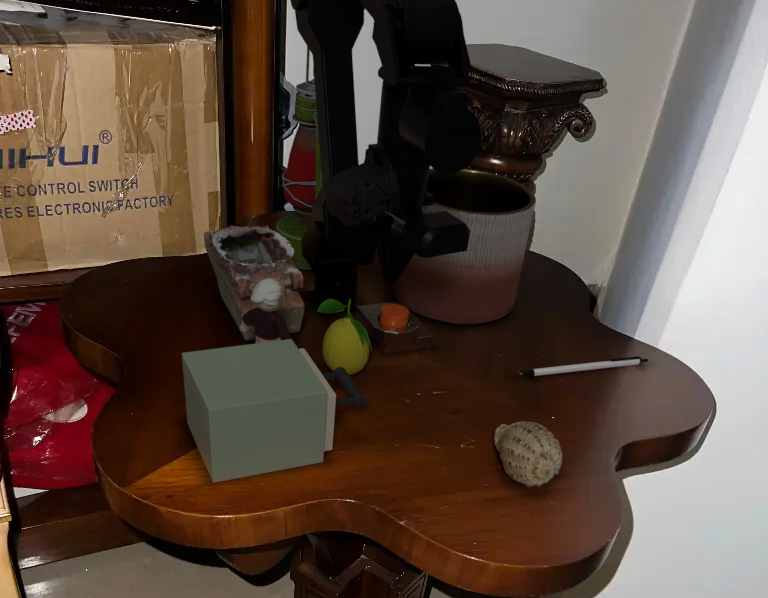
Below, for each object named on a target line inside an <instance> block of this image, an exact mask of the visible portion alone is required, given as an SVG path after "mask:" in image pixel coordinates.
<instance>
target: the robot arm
mask: <svg viewBox="0 0 768 598" xmlns="http://www.w3.org/2000/svg"><path fill="white" fill-rule="evenodd" d="M290 5H291V8H292V10H294V14H295V15H294V16H295V22H296V23H295V24H296V29H297V32H298V33H299V34H300V37H301V39H302V40H303V41H304V43H305V45H306V47H307V46H308V48H309V50H310V54H311V55H312V63H313V65H314V76H313V79H314V78H315V92H316V105H317V119H318V132H319V146H320V159H321V173H322V187H321V190H320V192H319V194H318V196H317V198H316V200H315V202H314V204H313V207H312V222H311V224H310V225H309V227H308V229H307V230H306V232H305V234H304V235H303V237H302V239H301V244H302V255H303V257H304V258H305V260H306V261H307V262H308V264H309V265H310V266H311V268H312V269H315V270H314V289H313V290H306V291H305V297H306V298H307V299H308V301H309V302H310V303H311V305H312V306H313V307H314V309H315V310H316V311H317V310H318V308H319V306H320V305H321V304H322V303H323V302H324V301H325V300H328V299H335V300H337V301H339V302H340V303H341V304H342V305H344V306H347V305H348V303H349V299H351V304H350V313H354V312H355V313H356V306H362V305H364V304H363V302H361V301H360V299H359V298H358V297H357V283H358V272H359V271H358V270H359V266H365V265H367V266H372V265H373V262H374V259H375V256H376V253H377V257H378V261H379V266H380V271H381V277H382V281H383V283H384V284H386V285H387V286H392V284H395V283H396V281H397V280H398V278H399V277H400V275H401V274H402V272H403V271H404V269H405V267H406V266H407V264H408V263H409V261H410V260H411V258H412V257H413V256H414V254H416V255H418V256H419V257H424V258H430V257H435V256H441V255H446V254H452V253H457V252H463V251H467V248H468V242H469V237H470V229H469V228H468V226H467V225H466V224H465V223H464V222H463V221H461V220H460V219H458V218H456V217H455V216H453V215H451V214H450V213H448V212H447V211H442V212H435V213H430V212H428V211H427V210H425V209H423V206H430V205H433V202H434V195H433V194H431V193H429V192H428V191H427V186H428V178H429V171H430V169H432V168H434V169H435V170H437V171H438V172H440V173H444V174H452V173H456V172H459V171H461V170H462V169H466V168H467V167H468V166H469V165H470V164H471V163H472V162H473V160H474V159H475V158H476V157H477V154H478V153H479V151H480V147H481V144H482V140H483V138H482V137H483V134H482V131H481V124H480V121H479V118H478V117H477V116H476V114H475V113H474V112H473V111H472V110H471V109H469V108H468V104H469V97H470V94H469V92H468V91H466V90H464V89H463V88H469V87H470V83H471V82H470V81H471V80H470V69H471V68H472V64H471V59H470V55H469V51H468V47H467V42H466V38H465V32H464V25H463V18H462V15H461V12H460V8H459V6H458V4H457V1H456V0H290ZM365 10H366V12H367V13H368V14H369V16H371V18H372V19H373V27H372V33H371V39H372V40H373V42H374V44H375V47H376V50H377V51H376V52H377V55H378V57H379V60H380V63H381V66H380V67H379V68H378V70H377V76H378V78H380V79H381V80H382V83H381V92H380V93H381V94H380V103H379V118H378V128H377V138H376V143H369V144H368V145H367V148H366V149H365V154H364V161H363V162H362V163H359V147H358V130H357V128H358V127H357V113H356V111H357V110H356V96H355V79H354V78H355V77H354V62H353V61H354V59H353V48H354V47H355V44H356V43H357V39H358V37H359V36H360V33H361V31H362V28H363V27H364V25H365ZM447 64H448V66H447ZM459 88H460V89H459ZM347 312H348V307H345V309H344V311H341V312H337V313H321V312H318V314H319V315H321V316H328V315H336V314H345V313H347Z"/></svg>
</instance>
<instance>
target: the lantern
mask: <svg viewBox="0 0 768 598" xmlns="http://www.w3.org/2000/svg"><path fill="white" fill-rule="evenodd" d="M310 54H311V51H310V50H309V48H308V46H307V45H306V62H305V63H306V64H305V65H306V66H305V68H306V69H305V81H304V82H301V83H298V84H296V85H295V91H296V92H295V101H294V113H293V114H292V115H291V118H292V121H294V122H295V123H298V127H297V129H296V132H295V134H294V138H293V140H292V144H291V148H290V152H289V156H288V160H287V166H286V169H285V170H284V172H283V173H282V176H281V178H282V183H283V184H282V185H281V187H282V188H283V195H284V199H285V200H286V201H287V202H288V204H290V205H291V206H292V209H293V210H294V211H295V212H294V213H290V214H289V215H286V216H284V217H282V218H281V219H279V220H278V221H277V222H276V232H277V233H279V234H280V235H282V236H283V237H284V238H285V237H286V238H285V239H286V240H288V241H289V242H287V243H288V244H291V245H292V246H291V247H292V248H293V249H294V254H293V256H292V262H293V264H294V266H295V268H297V269H299V270H309V271H311V270H313V271H315V269H312V268H311V266H310V265H309V264H308V262H307V261H306V260H305V258H304V257H303V255H302V244H301V239H302V237H303V235H304V234H305V232H306V230H307V229H308V227H309V225H310V224H311V222H312V207H313V204H314V202H315V200H316V198H317V196H318V194H319V192H320V190H321V187H322V173H321V159H320V146H319V132H318V119H317V105H316V92H315V78H314V65H313V67H312V76H313V78H312V79H311V80H310V79H309V78H310V77H309V76H310V56H311V55H310Z"/></svg>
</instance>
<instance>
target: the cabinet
mask: <svg viewBox="0 0 768 598" xmlns="http://www.w3.org/2000/svg"><path fill="white" fill-rule="evenodd" d="M299 349H300V348H298V346H297V345H296V343H295V342H294V340H293V339H292V338H291V339H289V340H281V341H273V342H265V343H257V344H255V343H249V344H241V345H233V346H225V347H218V348H217V347H216V348H210V349H202V350H195V351H194V350H193V351H186V352H181V364H182V373H183V374H182V375H183V386H184V398H185V410H186V421H187V425H188V428H189V431H190V433H191V435H192V437H193V439H194V442H195V444H196V447H197V449H198V451H199V454H200V456H201V458H202V460H203V463H204V465H205V468H206V470H207V472H208V474H209V477H210V479H211V482H212V483H213V484H214V483H221V482H225V481H231V480H236V479H241V478H247V477H251V476H257V475H262V474H267V473H273V472H278V471H283V470H289V469H295V468H300V467H304V466H310V465H315V464H319V463H320V464H321V463H323V462H324V458H325V457H324V455H325V451H324V441H325V424H326V407H327V391H326V389H325V388H324V386H323V385H322V383H321V382H320V380H319V379H318V377H317V376H316V374H315V373H314V371H313V370H312V368H311V367H310V365H309V364H308V363H307V361H306V360H305V358H304V357H303V355H302V354H301V352H300V351H299Z"/></svg>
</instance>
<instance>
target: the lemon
mask: <svg viewBox="0 0 768 598" xmlns="http://www.w3.org/2000/svg"><path fill="white" fill-rule="evenodd" d="M350 304H351V299H349V303H348V305H347V306H344V305H342V304H341V303H340V302H339V301H337V300H335V299H328V300H325V301H324V302H323V303H322V304H321V305H320V306H319V308H318V310H316V312H317V313H319V312H321V313H337V312H341V311H344V309H345V307H348V312H347V316H345V317H342V318H338V319H336V320H335V321H333V322H332V323H331V325H330V326H329V327H328V328H327V330H326V331H325V334H324V337H323V341H322V357H323V360H324V362H325V364H326V365H327V367H328V369H330V370H331V372H334V370H335V369H336V368H338V367H343V368H344V369H345V370H346V371H347V373H348V374H349V375H350V376H351V375H356V374H357V373H359V372H361V371H362V370H363V369H364V368H365V366H366V365H367V363H368V360H369V358H370V357H369V356H370V351H371V352H373V348H372V343H371V339H370V336H369V334H368V333H367V331H366V330H365V328H364V327H363V326H362V325H361V324H360V322H359V321H358V320H357V319H356V318H354V317H353V315H352V314H351V312H350Z"/></svg>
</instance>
